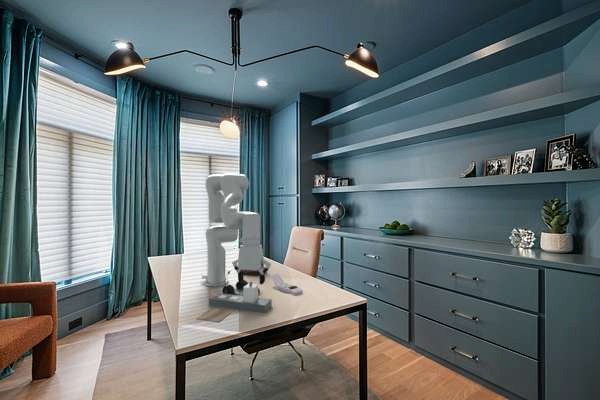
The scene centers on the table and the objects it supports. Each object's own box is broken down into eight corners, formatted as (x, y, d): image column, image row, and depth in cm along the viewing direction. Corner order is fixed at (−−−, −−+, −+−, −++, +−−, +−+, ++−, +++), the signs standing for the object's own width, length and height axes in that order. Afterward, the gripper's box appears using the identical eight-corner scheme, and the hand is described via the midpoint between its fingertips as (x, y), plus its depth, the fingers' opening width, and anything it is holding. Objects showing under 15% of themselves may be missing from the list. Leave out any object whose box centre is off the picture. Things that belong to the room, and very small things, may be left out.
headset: (236, 268, 142) (266, 278, 132) (234, 286, 142) (264, 297, 132) (216, 274, 130) (248, 286, 120) (215, 293, 131) (246, 306, 121)
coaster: (196, 321, 102) (196, 318, 102) (211, 311, 112) (211, 308, 112) (219, 324, 100) (219, 321, 100) (232, 313, 109) (232, 310, 109)
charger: (243, 308, 112) (243, 283, 112) (248, 304, 117) (248, 280, 117) (253, 309, 111) (253, 284, 111) (258, 305, 115) (258, 280, 115)
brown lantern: (269, 271, 175) (269, 240, 175) (259, 277, 161) (259, 243, 161) (249, 269, 179) (249, 239, 179) (237, 275, 165) (238, 242, 165)
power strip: (208, 307, 115) (208, 297, 115) (217, 301, 122) (218, 292, 122) (265, 315, 108) (265, 304, 108) (271, 308, 115) (271, 298, 115)
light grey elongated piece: (277, 273, 150) (306, 284, 130) (277, 283, 150) (306, 296, 130) (268, 275, 146) (296, 286, 126) (268, 285, 146) (296, 299, 126)
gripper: (228, 242, 112) (228, 283, 112) (266, 244, 108) (267, 286, 107) (237, 240, 120) (237, 278, 119) (273, 241, 115) (273, 281, 115)
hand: (251, 282), depth 113 cm, fingers open, 9 cm apart
